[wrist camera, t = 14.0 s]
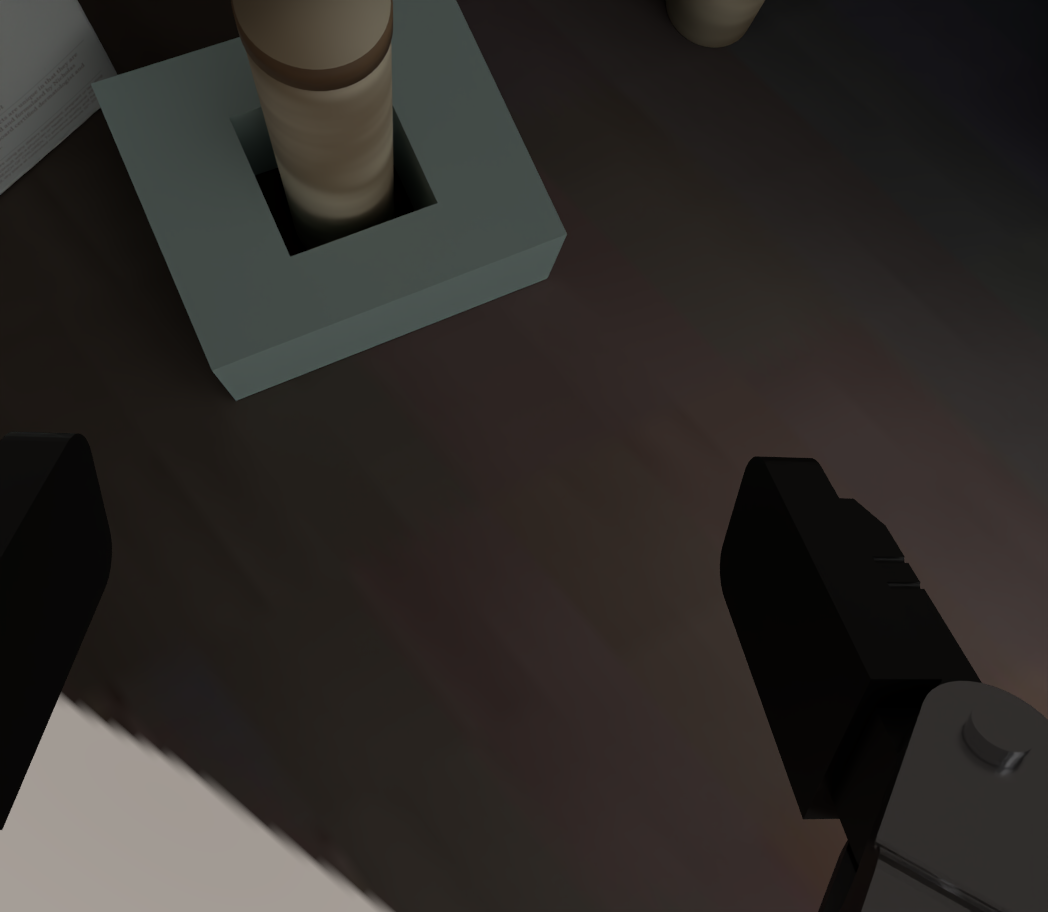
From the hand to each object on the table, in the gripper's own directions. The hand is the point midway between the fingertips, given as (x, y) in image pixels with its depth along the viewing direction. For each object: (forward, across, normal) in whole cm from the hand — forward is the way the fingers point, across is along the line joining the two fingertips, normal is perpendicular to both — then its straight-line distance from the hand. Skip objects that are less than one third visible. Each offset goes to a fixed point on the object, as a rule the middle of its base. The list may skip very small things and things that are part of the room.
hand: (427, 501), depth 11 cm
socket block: (+23, +3, +5) cm, 24 cm away
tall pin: (+23, +3, +6) cm, 24 cm away
